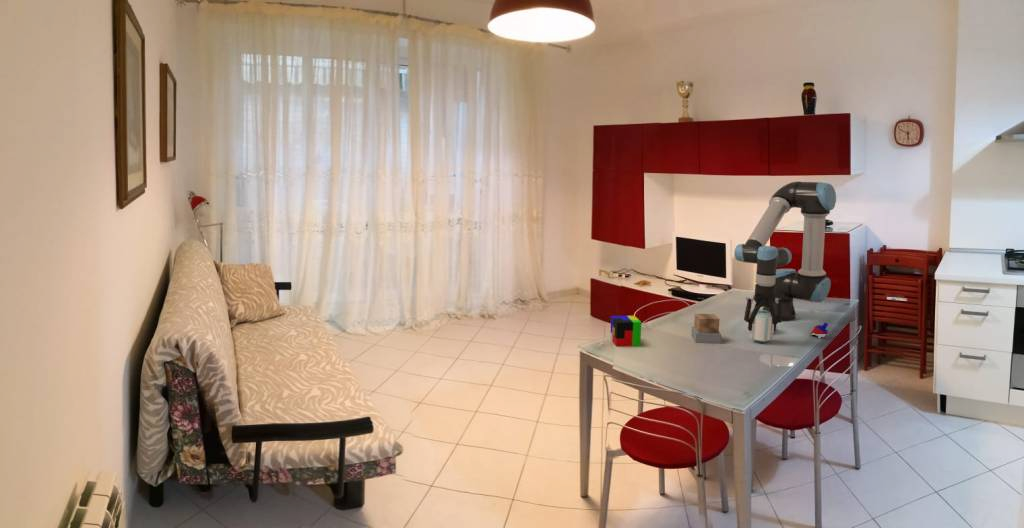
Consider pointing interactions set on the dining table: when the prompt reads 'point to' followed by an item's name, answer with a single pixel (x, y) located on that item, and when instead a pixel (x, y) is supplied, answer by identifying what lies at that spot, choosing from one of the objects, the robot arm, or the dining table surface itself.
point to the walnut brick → (706, 323)
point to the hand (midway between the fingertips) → (761, 338)
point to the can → (762, 326)
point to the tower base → (705, 337)
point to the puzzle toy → (625, 331)
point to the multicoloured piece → (820, 329)
